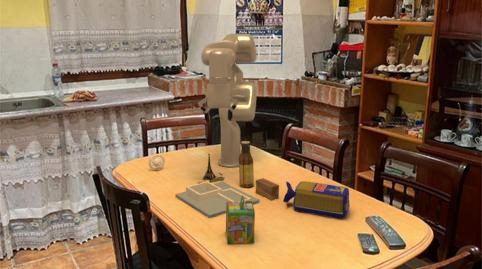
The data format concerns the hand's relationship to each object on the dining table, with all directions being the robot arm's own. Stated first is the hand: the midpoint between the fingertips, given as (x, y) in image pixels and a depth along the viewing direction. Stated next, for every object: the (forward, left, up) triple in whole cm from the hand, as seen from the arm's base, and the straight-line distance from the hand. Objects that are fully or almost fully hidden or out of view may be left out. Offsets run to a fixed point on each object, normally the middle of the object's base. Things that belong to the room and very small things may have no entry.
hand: (218, 120), depth 196 cm
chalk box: (+22, +44, -29) cm, 57 cm away
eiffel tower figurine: (-1, -9, -30) cm, 31 cm away
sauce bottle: (-9, +8, -29) cm, 32 cm away
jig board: (+10, +13, -29) cm, 33 cm away
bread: (-15, +44, -29) cm, 55 cm away
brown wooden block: (-9, +22, -29) cm, 37 cm away
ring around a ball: (+13, -32, -29) cm, 45 cm away
